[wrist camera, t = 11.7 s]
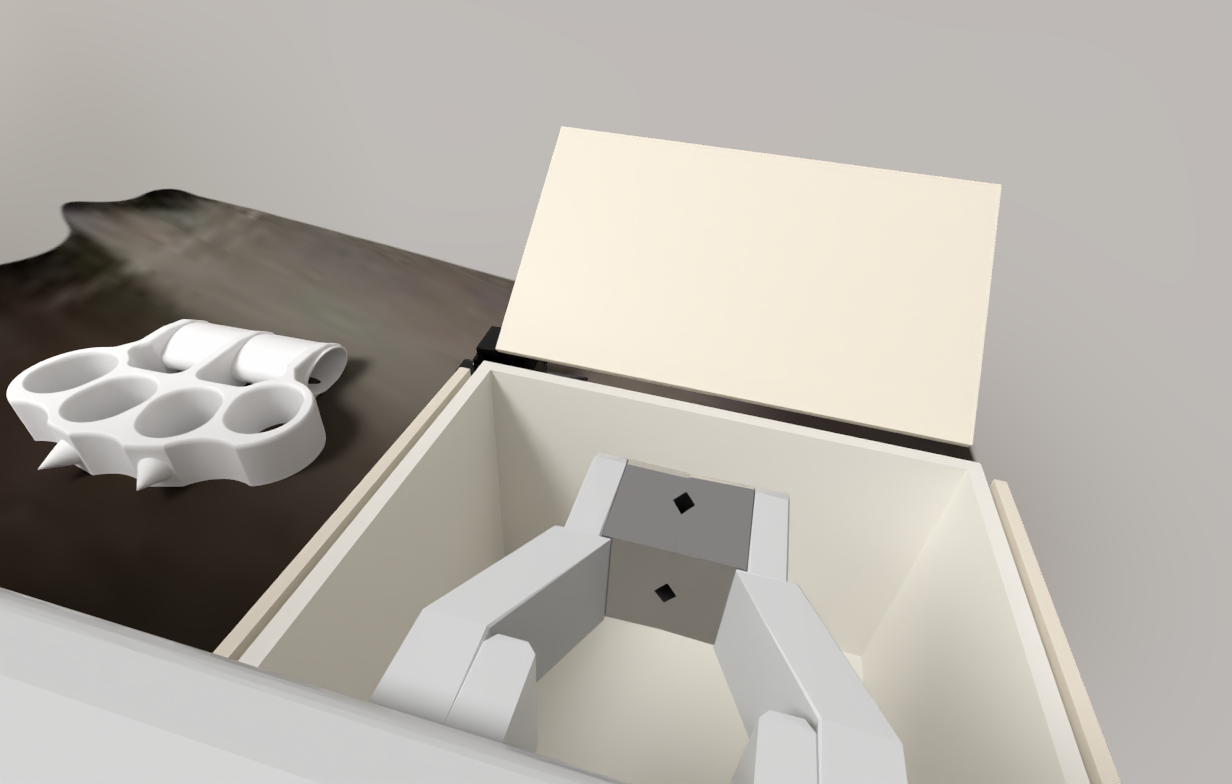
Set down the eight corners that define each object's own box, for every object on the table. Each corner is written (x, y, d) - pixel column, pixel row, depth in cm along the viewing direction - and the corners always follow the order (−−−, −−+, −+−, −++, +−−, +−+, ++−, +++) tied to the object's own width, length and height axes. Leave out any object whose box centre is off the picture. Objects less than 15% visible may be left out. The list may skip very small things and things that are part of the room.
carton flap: (561, 126, 25) (563, 132, 25) (495, 348, 23) (498, 352, 23) (1001, 184, 22) (996, 190, 23) (972, 445, 20) (967, 446, 20)
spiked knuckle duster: (392, 379, 43) (251, 536, 31) (169, 339, 45) (-41, 471, 33) (385, 339, 41) (230, 490, 29) (151, 299, 43) (-79, 424, 31)
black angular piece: (406, 411, 40) (396, 354, 37) (450, 354, 46) (444, 300, 43) (588, 442, 39) (590, 385, 36) (609, 379, 44) (613, 326, 42)
